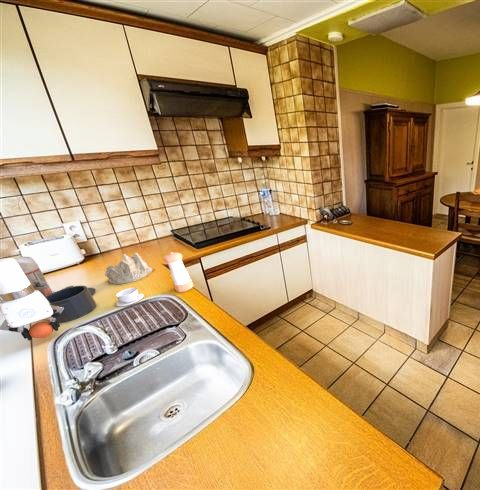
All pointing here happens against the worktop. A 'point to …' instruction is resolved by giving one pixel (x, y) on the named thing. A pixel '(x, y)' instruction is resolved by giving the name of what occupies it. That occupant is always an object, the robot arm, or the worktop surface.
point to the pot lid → (88, 289)
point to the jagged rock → (128, 270)
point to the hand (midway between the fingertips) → (44, 333)
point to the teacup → (128, 297)
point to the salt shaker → (178, 272)
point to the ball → (40, 329)
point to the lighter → (42, 288)
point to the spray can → (31, 270)
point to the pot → (72, 302)
